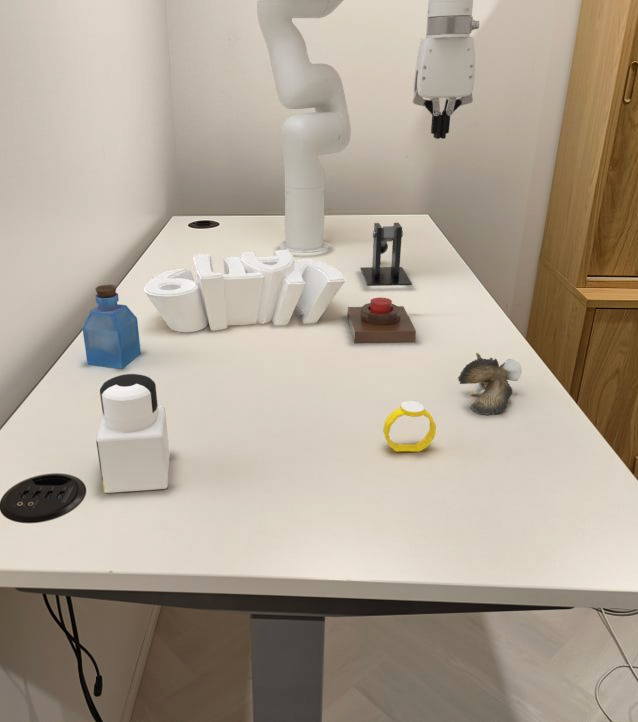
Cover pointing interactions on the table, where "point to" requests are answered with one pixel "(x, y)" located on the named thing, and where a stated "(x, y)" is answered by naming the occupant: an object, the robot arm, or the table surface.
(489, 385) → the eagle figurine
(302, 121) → the robot arm
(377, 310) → the button
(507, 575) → the table surface
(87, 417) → the table surface
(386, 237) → the press lever
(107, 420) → the medicine bottle
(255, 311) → the white letter sculpture
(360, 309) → the button block
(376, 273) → the lever bracket
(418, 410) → the watch
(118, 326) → the perfume bottle
